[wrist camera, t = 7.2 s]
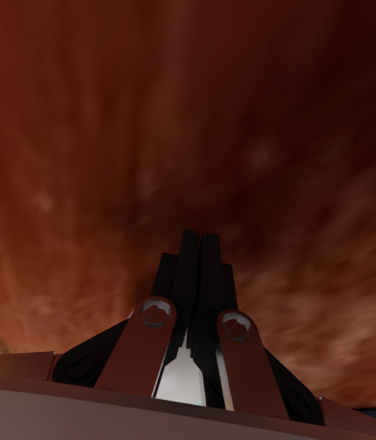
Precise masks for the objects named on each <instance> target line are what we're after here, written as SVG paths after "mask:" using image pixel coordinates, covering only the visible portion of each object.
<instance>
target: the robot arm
mask: <svg viewBox="0 0 376 440" xmlns="http://www.w3.org/2000/svg"><path fill="white" fill-rule="evenodd" d="M198 245H199V234H197V233H195V230H192V229H186V228H184V230H183V235H182V240H181V245H180V251H179V255H175V254H170V253H164V252H163V253H162V257H161V260H160V264H159V268H158V272H157V275H156V279H155V283H154V287H153V291H152V294H151V296H149V297H147V298H144V299H143V300H141V301H140V302H139V303H138V304H137V306H136V307H135V309H134V311H133V313H132V315H131V317H130V318H128V319H126V320H124V321H122V322H120V323H118V324H117V325H115V326H113V327H111V328H109V329H107V330H105V331H103V332H102V333H100V334H98V335H96V336H94V337H92V338H90V339H88V340H87V341H85V342H83V343H81V344H79V345H77V346H75V347H73V348H72V349H70V350H69V351H67V352H66V353H64V354H55V352H54V351H50V352H34V353H19V354H3V355H0V440H376V419H375V418H373V417H370V416H368V415H365V414H363V413H361V412H358V411H356V410H353V409H351V408H348V407H346V406H344V405H341V404H339V403H336V402H334V401H332V400H329V399H327V398H324V397H322V396H321V397H320V398H319V399H318V398H316V397H315V396H314V395H313V394H312V393H311V392H310V391H309V389H308V388H307V387H306V386H305V385H304V384H302V383H301V382H300V381H299V380H298V379H297V378H296V377H295V376H294V375H293V374H292V373H291V372H290V371H289V370H288V369H287V368H286V367H285V366H284V365H283V364H281V363H280V362H279V361H278V360H277V359H276V358H275V357H274V356H273V355H272V354H271V353H270V352H269V351H268V350H267V349H266V348H265V347H264V346H263V344H262V341H261V338H260V335H259V332H258V330H257V327H256V325H255V323H254V321H253V320H252V319H251V318H250V317H249V316H248V315H246V314H245V313H243V312H241V311H239V310H238V307H237V299H236V292H235V285H234V277H233V270H232V265H231V264H225V263H221V252H220V239H219V234H214V233H208V232H207V235H202V238H201V242H200V246H199V250H198ZM186 331H187V338H186V349H190V358H192V359H193V362H194V363H195V364H196V365H197V367H198V368H199V383H200V392H201V402H202V406H200V405H194V404H188V403H182V402H176V401H170V400H164V399H158V398H156V397H157V393H158V390H159V387H160V383H161V380H162V377H163V373H164V370H165V366H167V365H168V364H169V363H171V362H172V361H173V360H175V359H176V357H177V353H178V350H179V347H180V348H182V346H183V342H184V338H185V334H186Z"/></svg>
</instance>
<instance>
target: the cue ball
mask: <svg viewBox="0 0 376 440" xmlns="http://www.w3.org/2000/svg"><path fill="white" fill-rule="evenodd" d="M133 311H134V310H133ZM133 311H132V312H131V314H130V315H129V316H128V318H130V317H131V315H132V313H133ZM128 318H127V319H128ZM186 338H187V331H186V334H185V338H184V342H183V346H182V348H180V347H179V350H178V353H177V357H176V359H175V360H173V361H172V362H171V363H169V364H168V365H167V366H165V370H164V373H163V377H162V380H161V383H160V387H159V390H158V393H157V397H156V398H158V399H164V400H170V401H176V402H182V403H188V404H195V403H197V402H198V401H199V400H200V399H201V392H200V383H199V368H198V367H197V365H196V364H195V363H194V362H193V359H192V358H190V349H186Z"/></svg>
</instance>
